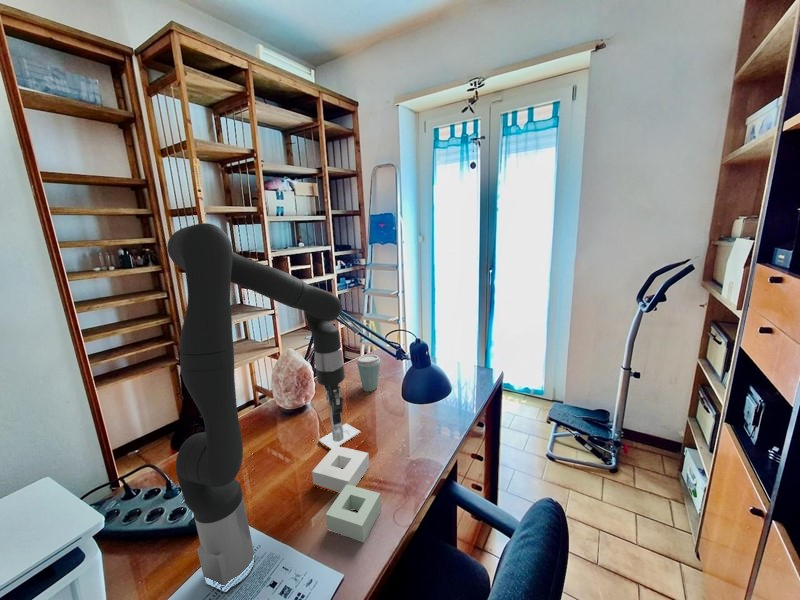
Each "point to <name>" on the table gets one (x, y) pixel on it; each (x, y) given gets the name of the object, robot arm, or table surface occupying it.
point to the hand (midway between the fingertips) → (335, 419)
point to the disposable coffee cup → (369, 371)
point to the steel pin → (336, 429)
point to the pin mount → (352, 522)
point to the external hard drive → (347, 434)
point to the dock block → (331, 464)
